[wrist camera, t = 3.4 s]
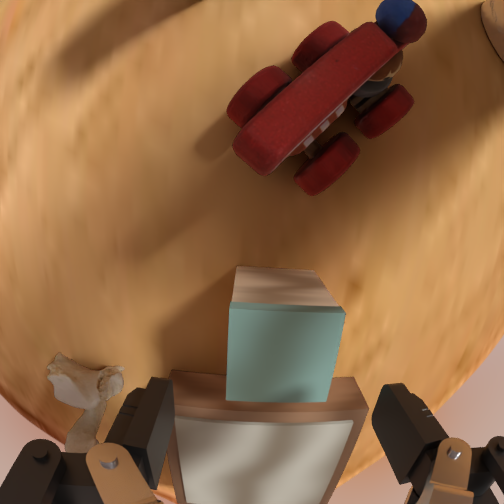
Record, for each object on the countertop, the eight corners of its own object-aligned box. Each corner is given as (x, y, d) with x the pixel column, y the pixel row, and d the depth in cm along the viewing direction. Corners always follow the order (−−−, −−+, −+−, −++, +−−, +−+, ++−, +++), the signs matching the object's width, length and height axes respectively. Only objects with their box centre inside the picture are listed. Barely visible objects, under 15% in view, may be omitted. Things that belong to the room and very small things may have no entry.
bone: (63, 310, 19) (63, 439, 12) (137, 336, 23) (162, 452, 16) (37, 370, 21) (40, 473, 14) (98, 387, 25) (114, 483, 18)
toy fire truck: (411, 95, 17) (510, 52, 7) (288, 213, 19) (329, 247, 9) (342, 23, 16) (399, -64, 6) (209, 134, 18) (166, 85, 8)
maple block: (314, 269, 20) (345, 313, 13) (305, 338, 21) (326, 402, 14) (236, 264, 20) (229, 308, 13) (232, 335, 21) (225, 400, 14)
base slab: (353, 376, 22) (370, 411, 18) (319, 478, 25) (326, 508, 21) (171, 369, 22) (158, 405, 18) (183, 474, 25) (176, 505, 21)
